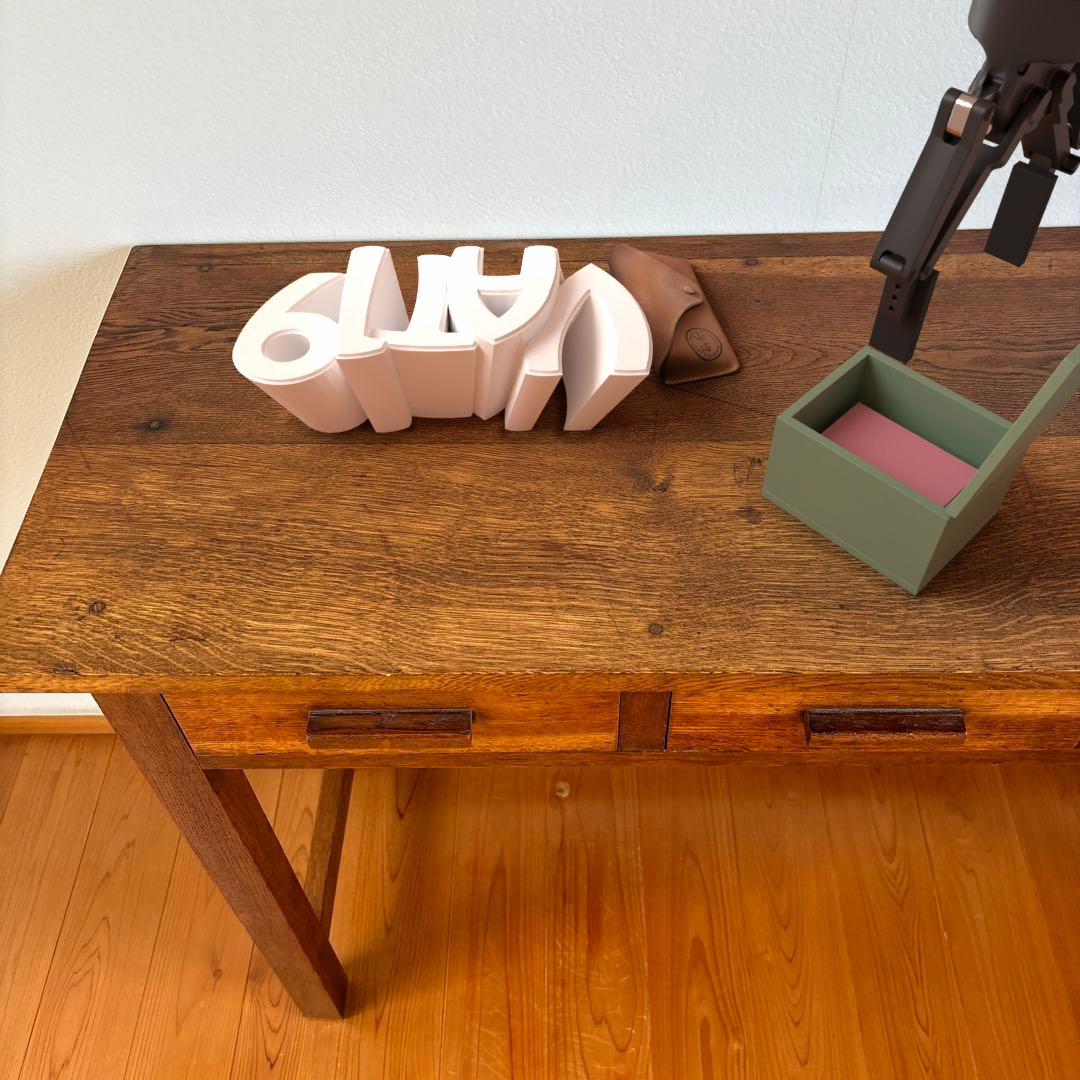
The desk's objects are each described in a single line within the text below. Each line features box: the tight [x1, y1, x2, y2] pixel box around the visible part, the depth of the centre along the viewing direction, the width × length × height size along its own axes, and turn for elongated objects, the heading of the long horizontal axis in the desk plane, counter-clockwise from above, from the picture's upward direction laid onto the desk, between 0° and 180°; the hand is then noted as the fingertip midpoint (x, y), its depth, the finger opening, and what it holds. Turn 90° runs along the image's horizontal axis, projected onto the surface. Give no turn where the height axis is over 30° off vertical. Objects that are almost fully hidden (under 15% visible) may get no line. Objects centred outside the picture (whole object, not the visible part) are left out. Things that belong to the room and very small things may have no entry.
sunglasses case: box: [607, 242, 741, 386], centre depth 96 cm, size 18×7×7 cm
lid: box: [946, 343, 1080, 518], centre depth 65 cm, size 15×12×1 cm
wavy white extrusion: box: [232, 245, 653, 434], centre depth 88 cm, size 35×16×11 cm, turn 86°
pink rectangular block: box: [821, 402, 978, 508], centre depth 80 cm, size 11×7×4 cm, turn 44°
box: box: [760, 344, 1030, 596], centre depth 79 cm, size 15×12×9 cm
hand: (949, 302), depth 67 cm, fingers open, 13 cm apart
